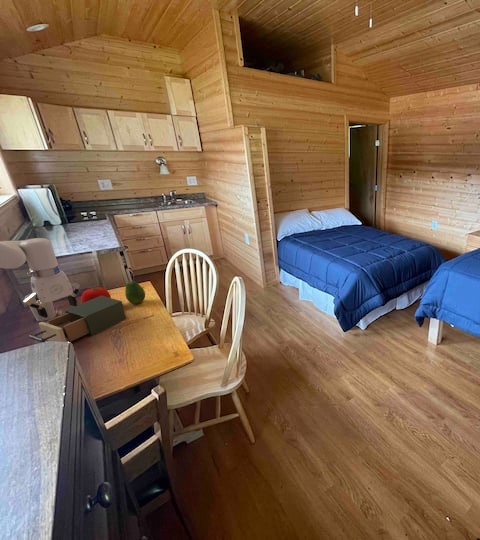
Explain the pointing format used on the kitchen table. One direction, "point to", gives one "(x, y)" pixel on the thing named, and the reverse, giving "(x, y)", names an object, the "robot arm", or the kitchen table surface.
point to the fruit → (134, 292)
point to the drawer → (56, 333)
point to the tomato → (94, 294)
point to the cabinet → (99, 313)
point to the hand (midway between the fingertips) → (59, 310)
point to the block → (63, 327)
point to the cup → (47, 306)
